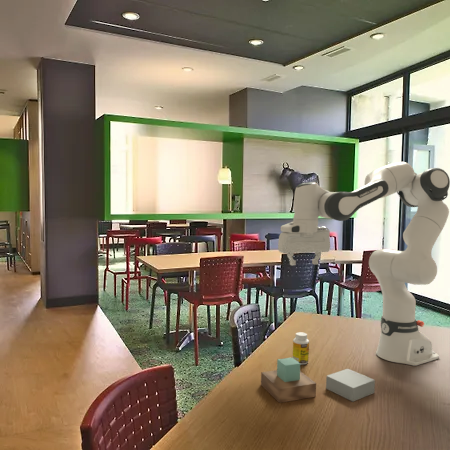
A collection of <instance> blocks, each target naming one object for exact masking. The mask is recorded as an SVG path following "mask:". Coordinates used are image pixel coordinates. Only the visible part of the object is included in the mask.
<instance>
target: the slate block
mask: <svg viewBox="0 0 450 450" xmlns="http://www.w3.org/2000/svg"><path fill="white" fill-rule="evenodd" d="M325 381H326V382H325V389H326V390H327V391H330V392H333V393H335V394H336V395H339V396H340V397H342V398H344V399H347V400H349V401H350V402H355V401H357V400H360V399H364V398H365V397H368V396H371V395H372V394H375V384H376V383H375V382H376V381H375V379H373V378H372V377H369V376H366V375H364V374H362V373H359V372H357V371H355V370H352V369H351V368H345V369H342V370H340V371H336V372H333V373H330V374H327V375H326V380H325Z"/></svg>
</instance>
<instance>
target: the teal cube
mask: <svg viewBox="0 0 450 450" xmlns="http://www.w3.org/2000/svg"><path fill="white" fill-rule="evenodd" d="M276 364H277V366H276V370H277V376H278V377H279V378H281V379H282V380H283V381H284V382H289V381H296V380H300V371H301V365H300V363H299V362H298V361H296V360H295V359H293V356H292V357H285V358H277V361H276Z"/></svg>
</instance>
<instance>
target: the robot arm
mask: <svg viewBox="0 0 450 450" xmlns="http://www.w3.org/2000/svg"><path fill="white" fill-rule="evenodd" d="M449 190H450V176H449V174H448V173H447V172H446V171H445V170H444V169H442V168H439V167H432V168H428V169H426V170H424V171H423V172H420V173H416V172H415V170H414V168H413V167H412V165H411V164H409V163H408V162H405V161H399V162H394V163H389V164H387V165H384V166H381V167H379V168H376V169H374V170H372V171H371V172H370V173H368V174H367V175H366V176H365V179H364V185H363V186H362V187H359V188H357V189H355V190H353V191H335V192H334V191H330V190H327V189H325V188H323V187H321V186H320V185H319V184H318V183H317V182H315V181H311V182H304V183H300V184H298V185H297V186H296V187H295V191H294V196H293V197H294V198H293V199H294V200H293V209H294V215H293V219H292V221H291V222H288V223H286V224H283V225H281V226H280V234H279V235H278V241H277V243H278V244H277V249H278V252H279V253H282V254H286V255H287V258H288V260H289V265H290V266H296V262H297V260H294V254H300V253H301V254H303V253H304V254H305V253H314V255H315V256H314V258H312V260H311V261H312V262H311V263H312V265H319V259H320V258H321V256H322V253H328V252H330V250H331V238H330V235H331V234H330V233H331V231H330V229H329V228H327V226H318V225H319V217H321V218H324V219H328V220H329V219H331V220H334V221H338V222H343V221H344V222H345V221H348V220H349V219H350V218H352V216H354V215H355V213H357V211H359V209H361V208H363V207H365V206H367V205H369V204H371V203H374V202H375V201H377V200H379V199H382V198H385V197H389V196H391V195H393V194H397V195H398V197H399V199H400V201H401V202H402V203H403V204H404V205H405V206H406V207H409V208H417V210H416V212H415V213H414V216H413V217H412V218H411V220H410V222H409V223H408V225H407V226H406V228H405V229H404V231H403V233H402V238H403V241H404V243H405V245H406V246H407V247H406V248H405V250H398V249H390V248H384V249H377V250H374V251H372V253H371V254H370V257H369V259H368V267H369V270H370V271H371V272H372V274H373V275H374V276H375V277H376V279H377V282H378V284H379V286H380V289H381V293H382V294H381V296H382V315H381V317H380V318H381V319H380V328H381V329H380V335H379V340H378V345H377V349H376V352H375V355H376V356H378V357H379V358H381V359H383V360H385V361H387V362H388V361H389V362H392V363H397V364H406V365H409V366H419V365H422V364H425V363H428V362H432V361H435V360H439V359H440V355H439V354H438V353H437V352H435V351H434V350H433V343H432V340H431V339H430V338H429V337H428V336H427V335H425V334H424V333H423V332H421V331H420V330H419V327H421V328H422V327H424V325H425V322H424V321H423V320H419V319H418V320H417V319H416V307H417V306H416V305H417V304H416V303H417V302H416V300H417V299H416V298H415V296H414V295H413V294H412V292H410V291H409V290H408V287H407V285H406V284H411V285H415V286H417V285H421V286H422V285H423V286H425V285H426V286H427V285H430V284H431V283H432V282H433V281H434V280H435V279H436V277H437V275H438V266H437V262H436V261H435V260H434V258H433V257H432V251H433V248H434V246H435V244H436V242H437V240H438V238H439V237H440V235H441V233H442V231H443V230H444V227H445V225H446V223H447V220H448V218H449V214H450V209H449V207H448V205H447V204H446V203H445V202H444V200H446V199H447V198H448V195H449V193H448V192H449Z"/></svg>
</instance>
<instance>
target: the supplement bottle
mask: <svg viewBox="0 0 450 450" xmlns="http://www.w3.org/2000/svg"><path fill="white" fill-rule="evenodd" d="M309 353H310V340H309V339H308V333H306V332H303V331H302V332H301V331H299V332H296V333H295V338H293V340H292V358H293V359H295V360H296V361H298V362H299V363H300V366H304V365H307V364H308V363H309V358H310V357H309Z"/></svg>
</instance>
